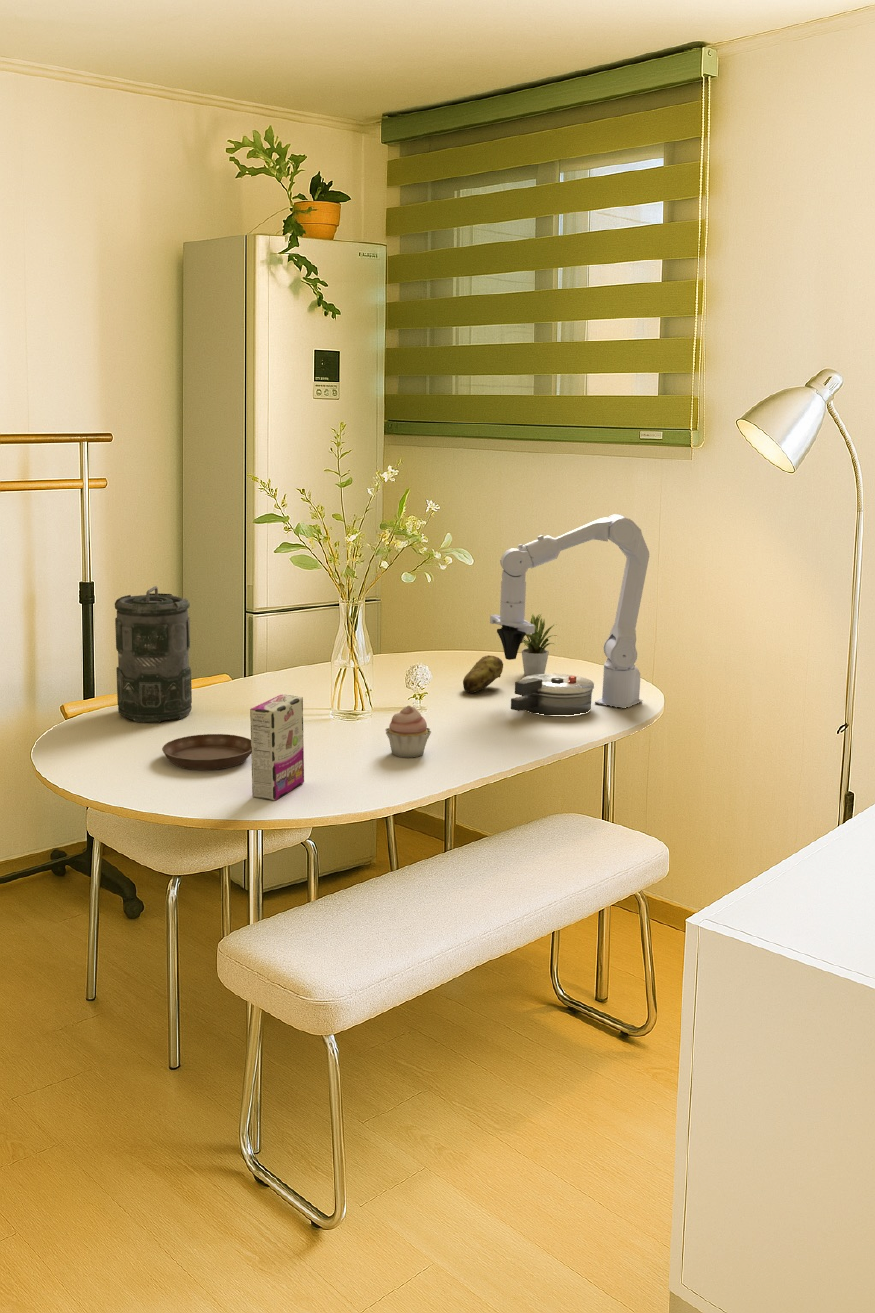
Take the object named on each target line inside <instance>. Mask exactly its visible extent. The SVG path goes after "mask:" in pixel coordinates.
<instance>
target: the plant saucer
mask: <svg viewBox="0 0 875 1313" xmlns="http://www.w3.org/2000/svg"><path fill="white" fill-rule="evenodd" d="M161 750H162V752H163V754H164V755H165V757H166V758H167V759H168V761H170V762H171V763H172V764H174V765H175V766H177V767H179V768H181V769H186V770H197V771H215V770H223V769H228V768H232V767H236V766H239V765H240V764H242V763H244V762H245V761H246V760H247V759H248V758H249V757H250V756H251V755H252V754H251V738H247V737H245V736H240V735H237V734H236V735H235V734H224V733H207V734H205V733H204V734H196V735H188V736H184V737H179V738H175V739H172V740H170V741H168V742H167V743H165V744H163V746H162V748H161Z"/></svg>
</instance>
